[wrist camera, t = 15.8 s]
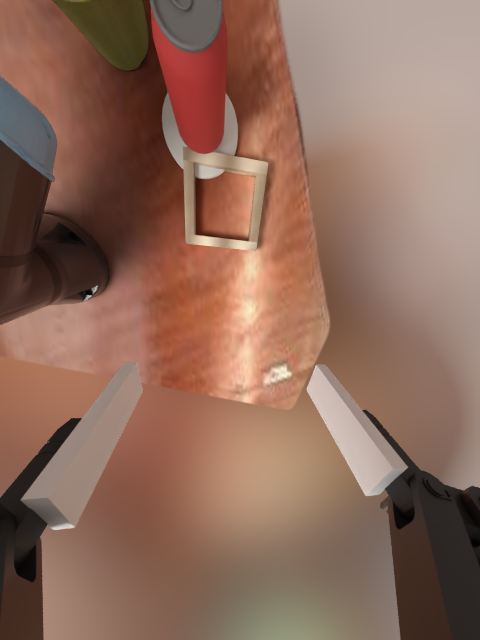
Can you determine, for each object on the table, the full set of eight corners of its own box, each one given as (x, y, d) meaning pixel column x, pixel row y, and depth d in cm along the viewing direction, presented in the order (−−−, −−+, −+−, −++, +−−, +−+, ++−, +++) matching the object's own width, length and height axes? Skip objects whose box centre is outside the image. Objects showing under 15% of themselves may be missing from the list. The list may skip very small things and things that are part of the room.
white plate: (166, 173, 27) (165, 171, 27) (160, 68, 23) (158, 63, 22) (234, 184, 29) (234, 183, 28) (241, 88, 24) (241, 84, 23)
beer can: (190, 87, 23) (162, -100, 12) (232, 122, 25) (244, -14, 13) (170, 136, 24) (126, 10, 13) (211, 167, 26) (205, 78, 14)
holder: (187, 242, 32) (185, 243, 30) (185, 152, 26) (182, 146, 25) (254, 250, 34) (256, 251, 32) (265, 166, 28) (268, 162, 26)
